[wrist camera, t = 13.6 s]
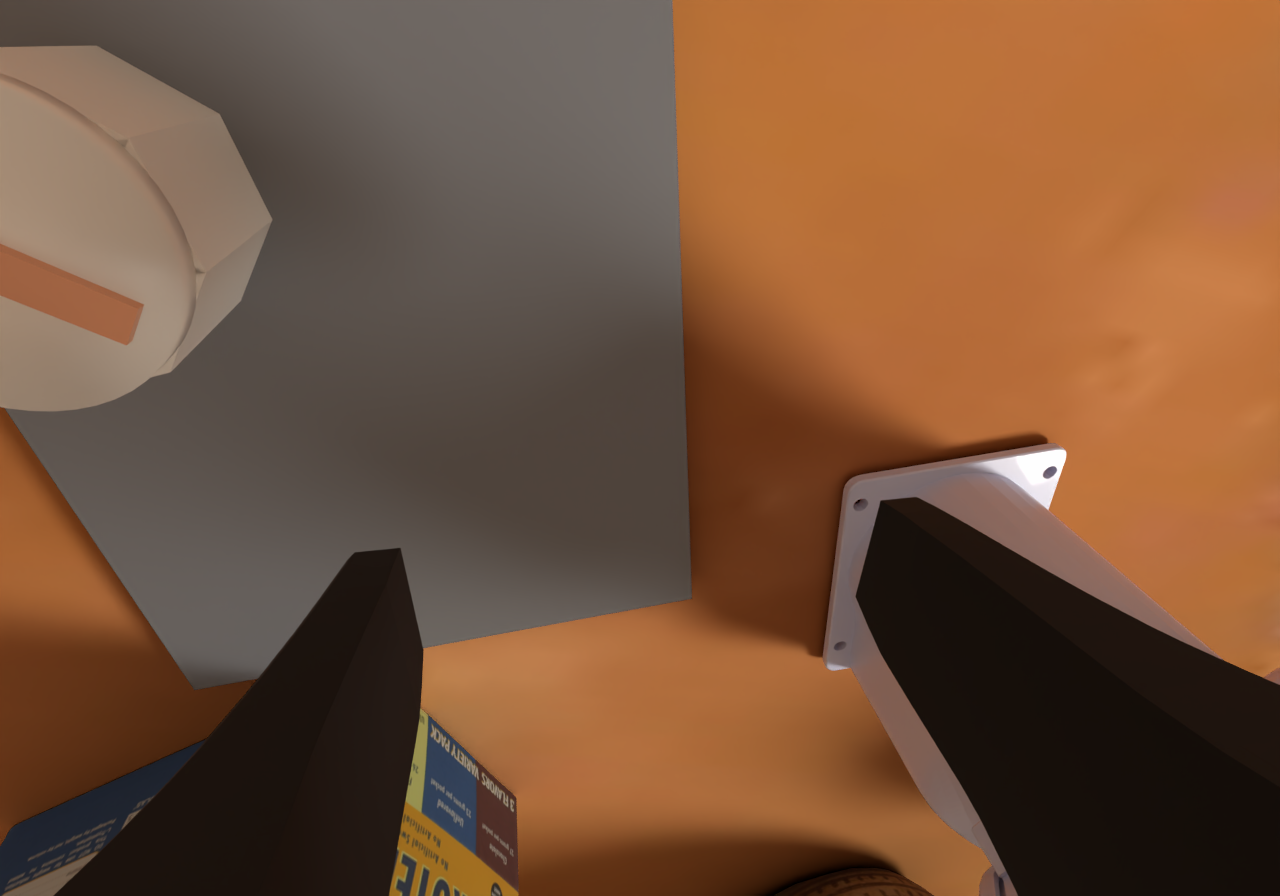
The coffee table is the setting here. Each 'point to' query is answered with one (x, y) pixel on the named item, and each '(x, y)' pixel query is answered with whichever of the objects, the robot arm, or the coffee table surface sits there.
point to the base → (405, 323)
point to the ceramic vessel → (857, 884)
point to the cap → (111, 226)
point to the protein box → (427, 848)
